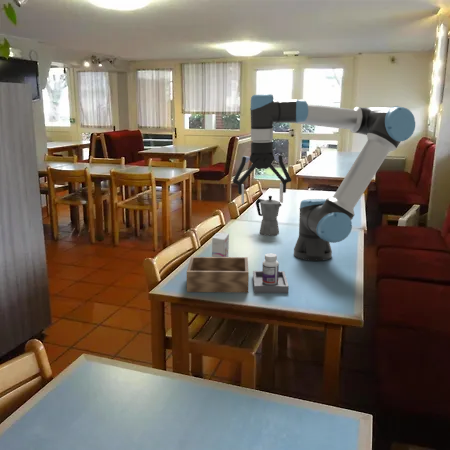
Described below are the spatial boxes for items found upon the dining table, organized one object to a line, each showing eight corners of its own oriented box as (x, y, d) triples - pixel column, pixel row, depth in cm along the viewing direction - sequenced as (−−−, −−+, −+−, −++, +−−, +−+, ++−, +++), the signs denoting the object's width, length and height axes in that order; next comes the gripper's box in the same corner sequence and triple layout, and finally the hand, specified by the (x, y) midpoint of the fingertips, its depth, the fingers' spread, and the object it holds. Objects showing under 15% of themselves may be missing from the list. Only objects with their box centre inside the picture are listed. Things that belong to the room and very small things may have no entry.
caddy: (247, 275, 164) (247, 257, 162) (248, 292, 149) (248, 272, 148) (191, 275, 164) (191, 256, 163) (186, 291, 150) (186, 271, 148)
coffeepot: (286, 233, 218) (287, 196, 213) (273, 237, 211) (274, 199, 207) (261, 227, 228) (262, 192, 224) (249, 231, 222) (249, 194, 217)
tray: (284, 277, 163) (284, 271, 162) (288, 292, 149) (288, 286, 148) (252, 277, 163) (253, 270, 162) (254, 292, 149) (254, 285, 149)
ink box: (224, 269, 170) (224, 238, 167) (211, 268, 171) (211, 238, 168) (228, 262, 178) (229, 232, 175) (216, 261, 179) (216, 232, 176)
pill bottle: (269, 278, 159) (269, 251, 157) (281, 282, 156) (282, 255, 153) (258, 282, 156) (259, 255, 153) (271, 286, 152) (271, 258, 150)
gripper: (296, 139, 160) (295, 199, 166) (224, 141, 160) (226, 201, 165) (300, 141, 153) (299, 203, 159) (225, 143, 152) (227, 205, 158)
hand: (262, 202), depth 162 cm, fingers open, 13 cm apart
